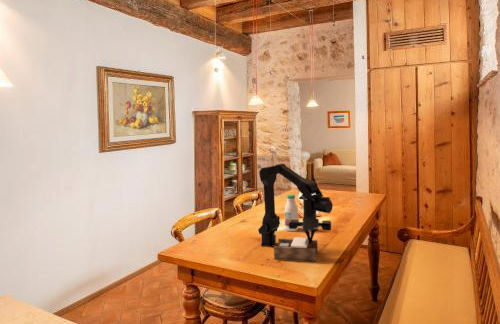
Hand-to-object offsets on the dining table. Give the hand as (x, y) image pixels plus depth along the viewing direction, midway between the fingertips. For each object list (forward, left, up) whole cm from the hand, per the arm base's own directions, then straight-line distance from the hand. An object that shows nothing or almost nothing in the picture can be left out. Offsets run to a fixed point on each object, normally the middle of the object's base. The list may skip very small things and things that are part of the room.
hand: (310, 242), depth 170 cm
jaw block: (-12, 0, -5) cm, 13 cm away
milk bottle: (-15, +39, -7) cm, 42 cm away
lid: (-5, 0, 0) cm, 5 cm away
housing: (-7, 0, -6) cm, 9 cm away
